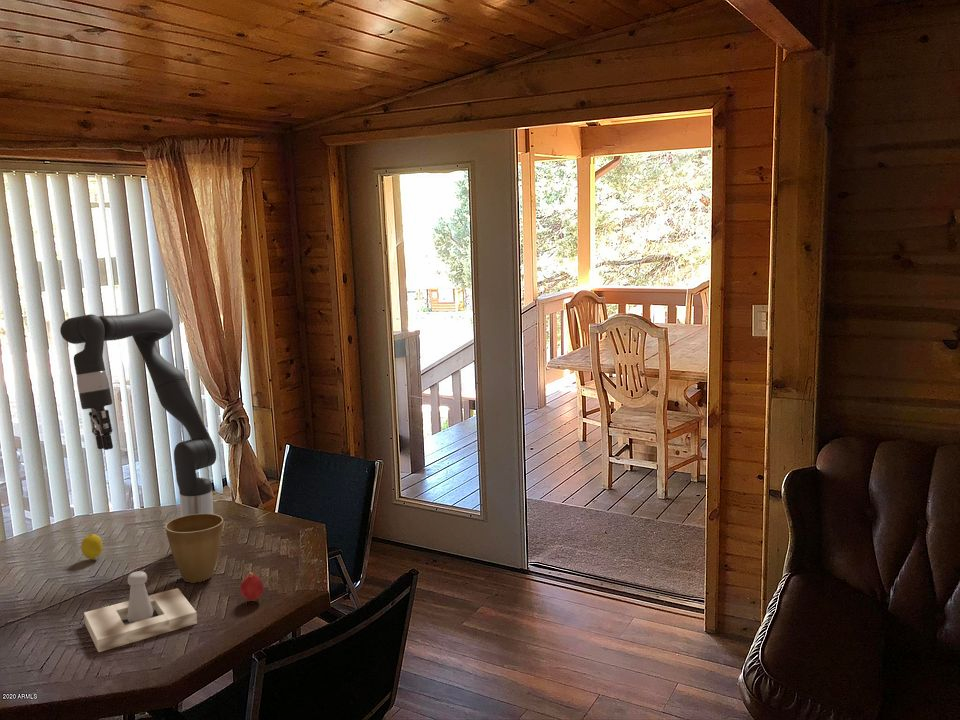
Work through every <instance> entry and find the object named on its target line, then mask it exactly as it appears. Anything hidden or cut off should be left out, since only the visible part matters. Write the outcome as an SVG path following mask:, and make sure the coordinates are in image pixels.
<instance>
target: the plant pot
mask: <svg viewBox="0 0 960 720" xmlns="http://www.w3.org/2000/svg"><path fill="white" fill-rule="evenodd" d="M223 525H224V518H223V517H222V516H221V515H219V514H215V513H214V514H192V515H186V516H182V517H181V516H179V517H176V518H173V519H171V520H169V521H168V522H167V523H166V524H165V527H164V528H165V532H166V536H167V541H168V544H169V548H170V550H171V551H170V552H171V554H172V556H173V559H174V563H175V565H176V567H177V569H178V572H179V573H180V576H181V578H182V579H183V581H184V582H186V583H188V582H190V583H189V584H196V582H198V583H203V582H205V580H206V581H208V580H210V579H211V578H212V576H213V574H214V571H215V568H216V564H217V561H218V556H219V552H220V549H221V542H222V541H221V540H222V535H223V527H224V526H223ZM210 577H211V578H210ZM209 578H210V579H209ZM207 579H208V580H207ZM202 581H203V582H202Z"/></svg>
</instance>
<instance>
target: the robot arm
mask: <svg viewBox="0 0 960 720" xmlns="http://www.w3.org/2000/svg"><path fill="white" fill-rule="evenodd" d="M173 328H174V324H173V320H172V319H171V317H170V315H169V314H168V313H167V312H166V311H165V310H163V309H160V308H152V309H149V310H147V311H142V312H137V313H132V314H131V313H128V314H119V315H100V316H98V315H96V314H93V313H92V314H91V313H90V314H84V315H80V316H75V317H70V318H67V319H66V320H64V321H63V322H62V324H61V326H60V335H61V337H62V339H63V340H65V341H66V342H67V343H69V344H73V345H78V344H84V348H83V349H82V350H81V351H80V352H77V353H75V354H74V355H73V365H74V369H75V375H76V385H77V390H78V396H79V400H80V401H79V402H80V406H81V409H82V410H89V409H90V410H91V411H89V412H88V415H89V420H90V427H91V433H92V434H93V435H94V437H95V441H96V446H97V449H98V450H102V449H103V450H104V451H107V450H112V449H113V447H114V445H113V440H112V434H113V433H112V432H113V426H112V423H111V418H110V411H109V410H108V409H105V407H107V406H110V405H112V404H113V399H112V393H111V387H110V384H109V378H108V375H107V371H106V366H105V362H104V357H103V355H104V344H105V342H106V341H108V342H109V341H118V340H123V339H126V338H130V337H132V338H133V340H134V342H135V344H136V346H137V348H138V351H139V353H140V354H141V356H142V359H143V361H144V364H145V366H146V368H147V370H148V372H149V376H150V378H151V381H152V384H153V387H154V390H155V393H156V395H157V398H158V401H159V403H160V405H161V407H162V408H163V409H164V410H165V411H166V412H167V413H168V414H169V415H171V416H172V417H173V418H174V419H176V420H177V421H179V423H180V424H181V425H182V427H184V428H185V430H186V432H187V433H188V435H189V438H190V439H188V440H184V441H180V442H178V443H177V444H176V445H175V447H174V449H173V460H174V469H175V477H176V483H177V486H178V490H179V504H180V506H179V507H180V508H179V509H180V517H182V516H186V515H192V514H215V513H214V502H213V501H214V500H213V487H212V485H213V484H212V482H211V480H210V479H208V478H205V477H198V475H197V471H198V470H202V469H205V468H207V467H211V466H213V465H214V464H215V463H216V460H217V451H216V447H215V444H214V442H213V440H212V437H211V435H210V433H209V431H208V430H207V428H206V425H205V424H204V422H203V419H202V418H201V415H200V413H199V410H198V408H197V407H198V406H197V405H196V403H195V400H194V398H193V395H192V392H191V389H190V385H189V384H188V381H187V378H186V377H185V375H184V373H183V372H182V371H181V370H180V369H178V368H177V367H176V366H174V365H173V364H171V362H169V361H168V360H166V359H165V358H164V357H163V356H162V355H161V353H160V351H159V349H158V347H157V344H156V342H158V341H161V339H164V338H165V337H167V336H169V335H170V333H171V332H172V331H173Z"/></svg>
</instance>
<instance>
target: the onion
mask: <svg viewBox="0 0 960 720" xmlns="http://www.w3.org/2000/svg"><path fill="white" fill-rule="evenodd" d="M264 587H265V586H264V583H263V581H262V578H261V577H259V576H258V575H257V574H254V573H253V572H249V574H248V575H247V576H246V577H245V578H244V579H243V580H242V581H241V584H240V588H239V589H240V590H239V591H240V594H241V596H242V597H243V598H244V599H245V600H247V601H249V602H250V601H254V602H255V601H257V600H258V599H260V597H261V596H262V594H263V592H264V591H265V588H264Z"/></svg>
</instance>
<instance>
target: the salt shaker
mask: <svg viewBox="0 0 960 720" xmlns="http://www.w3.org/2000/svg"><path fill="white" fill-rule="evenodd" d="M147 581H148V575H147V573H146V572H145V571H141V570H140V571H138V570H137V571H133V572H131V573H130V574H129V575H128V576H127V584H128V585H129V586H130V587H129V598H128V601H129V605H128V614H127V619H126V620H127V621H128V624H131V623H135V622H138V621H142V620H145V619H149V618H153V617H154V612H153V609H152V606H151V603H150V600H149V594H148V591H147V588H146V584H145V583H147Z"/></svg>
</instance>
